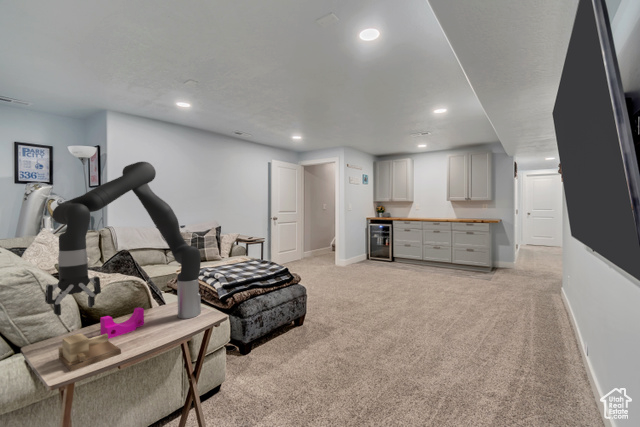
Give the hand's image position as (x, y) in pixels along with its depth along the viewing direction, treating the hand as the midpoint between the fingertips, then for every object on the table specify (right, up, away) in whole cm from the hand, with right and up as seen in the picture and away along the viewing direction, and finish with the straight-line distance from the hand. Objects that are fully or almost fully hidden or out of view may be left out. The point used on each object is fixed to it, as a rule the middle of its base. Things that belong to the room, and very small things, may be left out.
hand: (75, 311), depth 99 cm
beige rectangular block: (+1, -15, -1) cm, 15 cm away
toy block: (0, -17, +25) cm, 30 cm away
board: (+3, -17, +3) cm, 17 cm away
